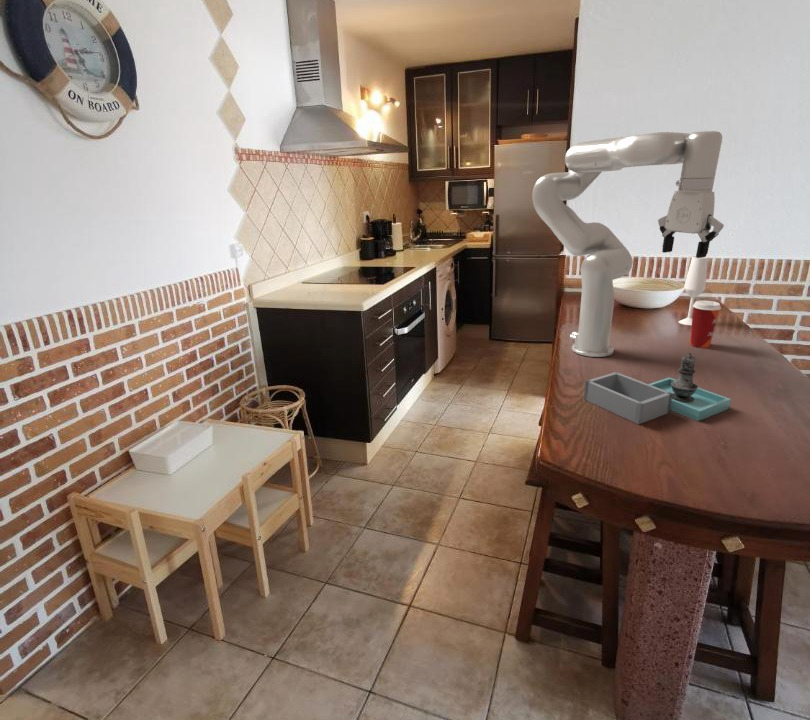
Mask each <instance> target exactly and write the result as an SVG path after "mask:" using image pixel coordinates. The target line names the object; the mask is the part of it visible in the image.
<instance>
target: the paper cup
mask: <svg viewBox="0 0 810 720" xmlns="http://www.w3.org/2000/svg"><path fill="white" fill-rule="evenodd" d="M721 309H722V307H721V304H720V303H719V302H718V301H713V300H696V301H694V305H693V311H692V317H691V318H692V325H691V329H690V338H689V345H690V346H691V347H693V348H699V349H707V348H708V349H709V347H710V346H711V343H712V339H713V336H714V332H715V329H716V328H715V327H716V324H717V320H718V316H719V313H720V310H721Z"/></svg>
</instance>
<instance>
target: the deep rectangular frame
mask: <svg viewBox="0 0 810 720" xmlns="http://www.w3.org/2000/svg"><path fill="white" fill-rule="evenodd" d="M649 384H650V383H647V382H644V381H641V380H638V379H635V378H633V377H631V376H629V375H628V376H627V375H625V374H622V373H621V372H617V371H614V372H611V373H608V374H604V375H601V376H597V377H594V378H591V379H588V380H585V384H584V385H585V386H584V394H583V395H584V396H583V400H584V401H586V402H589V403H591V404H593V405H595V404H596V405H595V406H598V407H600V408H602V409H604V410H606V411H608V412H611V413H612V414H615V415H617V416H619V417H621V418H623V419H626V420H628V421H629V422H633V423H634V424H635V425H640V424H644V423H645V422H648V421H651V420H654V419H656V418H657V419H658V418H659V417H662V416H664V415H668V414H670V411H671V410H670V407H671V401H672V395H673V393H670V392H667V391H665V390H662V389H660V388H657V387H654V386H652V385H649Z"/></svg>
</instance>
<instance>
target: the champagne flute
mask: <svg viewBox="0 0 810 720" xmlns="http://www.w3.org/2000/svg"><path fill="white" fill-rule="evenodd" d="M708 258H709V257H708V256H706V257H702V258H697V257H696V255H695V256H692V257H691V261H690V264H689V267H688V272H687V276H686V277H685V282H684V286H683V289H684V291H685V293H686V294H687V295H688V296H689V297H690V301H689V306H688V307H689V309H688V314H687V317H686V318H683V319H681V320H678V323H679V324H680V325H685V326H692V318H693V309H694V307H693V305H694V303H695V299H696V297H698V296H700V295H701V294H703V293H704V292H705V290H706V284H707V271H708Z"/></svg>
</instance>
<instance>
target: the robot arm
mask: <svg viewBox="0 0 810 720" xmlns="http://www.w3.org/2000/svg"><path fill="white" fill-rule="evenodd" d="M722 143H723V134H722V132H720V131H716V130H715V131H714V130H710V131H709V130H708V131H707V130H706V131H695V132H692V133H687V132H685V133H684V132H673V131H672V132H671V131H670V132H669V131H661V132H658V131H657V132H651V133H644V134H636V135H630V136H619V137H611V138H605V139H596V140H590V141H583V142H578V143H575V144H573V145H572V146H571V147H569V149H567V151H566V154H565V157H564V163H565V165H566V168H567V169H568V170H569V171H568V172H566V171H564V172H551V173H546V174H544V175H543V176H541V177H539V178H538V179H537V180H536V181H535V184H534V186H533V189H532V195H531V196H532V198H531V199H532V205H533V208H534V209H535V212H536V214H537V215H538V216H539V218H540V219H541V220H542V221H543V222H544V223H545V224H546V225H547V226H548V227H549V229H550V230H551V231H552V233H553V235H554V236H555V237H557V239H558V241H560V243H561V244H562V245H563V247H564V248H565V249H566V250H567V252H569V253H570V254H571V255H572V256H577V257H581V256H585V258H584V259H583V261H582V263H581V266H580V277H581V298H580V307H579V308H580V311H579V320H578V331H575V330H574V331H572V333H571V334H570V335H569V338H570V339H571V340H574V343H573V344H572V345H571V350H572V352H574V353H575V354H578V355H581V356H585V357H592V358H603V357H608V356H609V357H610V356H612V354H614V351H615V350H614V347H613V346H612V345H610V340H611V331H612V322H613V313H614V306H615V288H614V282H613V280H614V281H615V280H616V279H620V278H623V277H624V276H627V275H628V274H629V273H630V271H631V269H632V268H633V265H634V264H633V257H632V255H631V252H630V251H629V250H628V249H627V247H626V246H625V245H624V244H623V242H621V240H620V239H619V238H618V237H617V236H616V235H615V234H614V232H613V231H612V230H611V229H610V228H609V227H608V226H607V225H605V224H604V223H601V222H585V221H583V220H582V219H581V218H580V216H578V215H577V213H576V212H575V211H574V210H573V209H572V208H570V206H568V205H567V204H566V203H564V202H563V201H571V200H575V199H576V198H579V197H580V196H581V195H582V194H583V193H584V191H586V190H587V188H589V187H590V186H591V184H592V183H593V182H594V181H595V180H596V179H597V178H598V177H599V175H600V174H601V173H602V172H613V171H614V172H615V171H616V172H617V171H621V170H622V169H625V168H631V167H632V168H635V167H645V166H646V167H647V166H662V165H664V166H665V165H667V166H668V165H678V164H682V166H681V172H680V178H679V180H677V181H676V182H675V185H676V186H677V187H678V189H677V190H675V191H674V193H673V195H672V197H671V201H670V203H669V207H668V211H667V215H665V216H662V217H660V218H659V219H657V221H658V222H657V223H658V226H659V230H660V233H661V234H662V235H661V237H663V242H662V250H661V251H662V253H664V254H665V253H671V252H673V248H674V241H675V236H674V235H675V233H684V234H691V235H693V234H697V235H698V237H699V239H700V240H701V241H699V242H698V244H697V247H696V248H697V250H696V252H695V254H696V255H695V256H696V257H697V258H702V257H707V254H708V253H709V248H710V242H712V241H713V240H714V239H715V238H716V237H718V235H720V234H719V233H721V231H722V230H723V228H724V227H725V225H724V224H723V223H722V222H721V221H719V220H718V219H717V218H715V217H714V213H715V202H716V201H715V199H716V198H715V197H716V196H715V191H713V188H714V182H715V178H716V174H717V169H718V163H719V158H720V153H721V148H722ZM712 226H713V229H712ZM711 229H712V231H710V230H711ZM586 255H587V256H586Z"/></svg>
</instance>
